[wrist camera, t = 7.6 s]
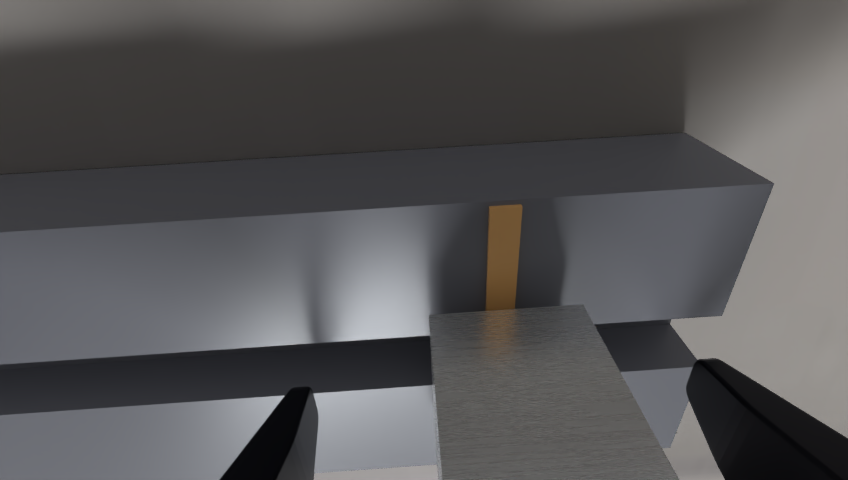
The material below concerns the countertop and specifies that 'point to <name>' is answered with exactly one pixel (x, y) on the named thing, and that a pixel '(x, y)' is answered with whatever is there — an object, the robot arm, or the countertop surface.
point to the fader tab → (535, 400)
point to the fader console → (337, 291)
